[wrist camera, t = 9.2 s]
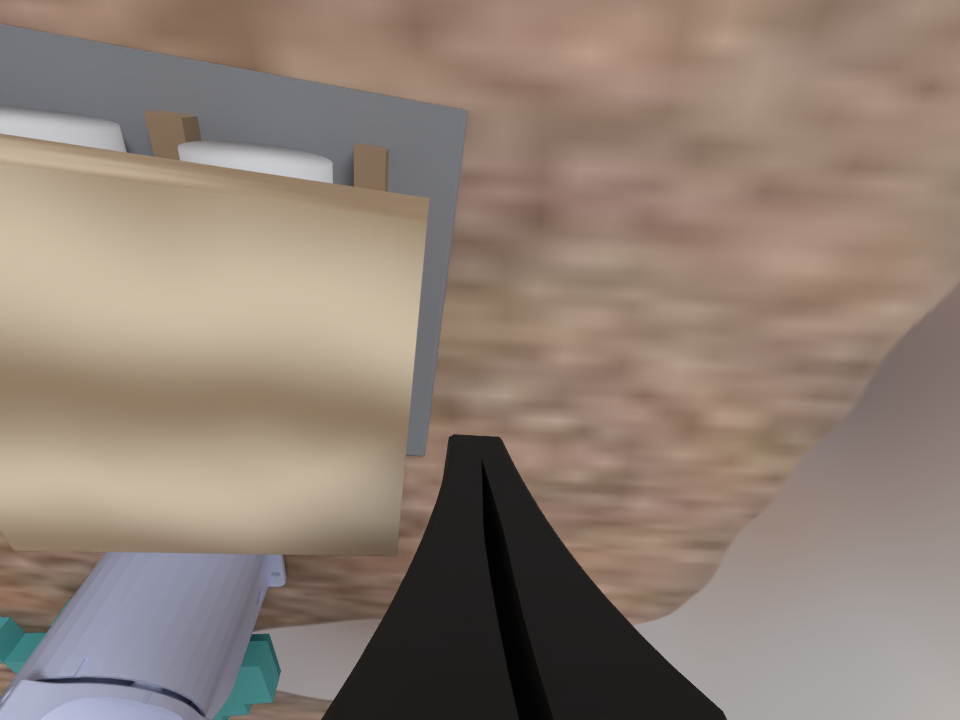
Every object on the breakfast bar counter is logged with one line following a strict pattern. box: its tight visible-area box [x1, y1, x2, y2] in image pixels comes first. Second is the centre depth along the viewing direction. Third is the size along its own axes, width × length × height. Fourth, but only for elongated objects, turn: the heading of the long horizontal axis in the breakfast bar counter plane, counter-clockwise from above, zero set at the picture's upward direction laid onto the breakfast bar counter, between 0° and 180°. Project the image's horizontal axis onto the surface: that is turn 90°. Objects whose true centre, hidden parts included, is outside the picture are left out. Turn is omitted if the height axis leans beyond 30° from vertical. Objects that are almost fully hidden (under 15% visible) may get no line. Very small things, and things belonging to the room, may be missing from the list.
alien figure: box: [0, 598, 281, 720], centre depth 32 cm, size 20×2×20 cm
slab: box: [0, 133, 429, 556], centre depth 12 cm, size 12×12×2 cm
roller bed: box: [0, 24, 468, 456], centre depth 13 cm, size 19×28×6 cm
